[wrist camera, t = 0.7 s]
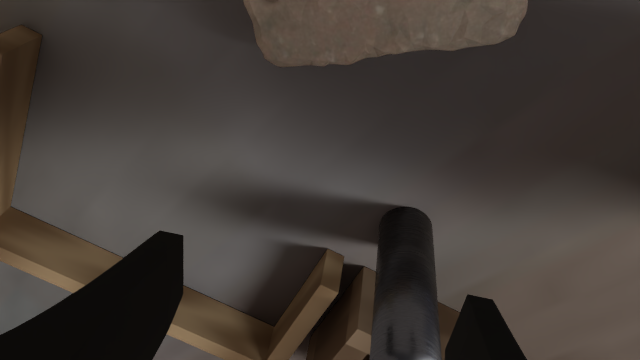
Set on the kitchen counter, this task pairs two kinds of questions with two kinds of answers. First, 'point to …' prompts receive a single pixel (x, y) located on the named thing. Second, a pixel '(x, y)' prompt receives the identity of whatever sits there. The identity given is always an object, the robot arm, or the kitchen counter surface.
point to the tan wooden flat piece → (91, 261)
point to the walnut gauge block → (360, 324)
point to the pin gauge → (405, 289)
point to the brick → (376, 27)
